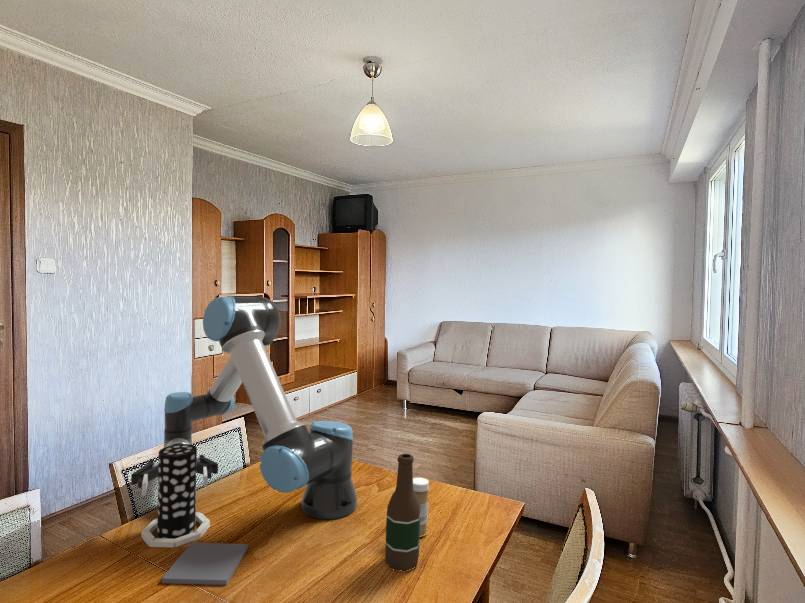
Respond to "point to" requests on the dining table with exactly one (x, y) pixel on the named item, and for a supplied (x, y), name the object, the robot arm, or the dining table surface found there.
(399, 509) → the beer bottle
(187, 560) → the mat
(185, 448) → the white-spotted black cylinder
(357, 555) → the dining table surface
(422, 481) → the sprinkles bottle
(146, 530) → the coaster ring
